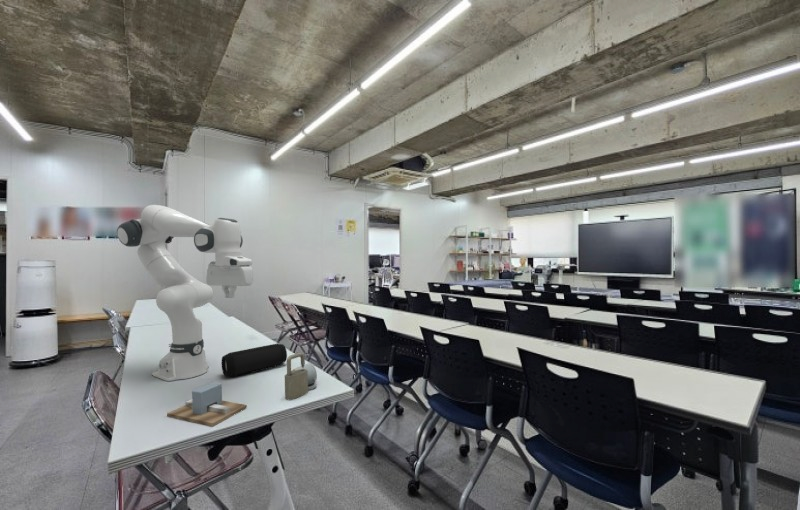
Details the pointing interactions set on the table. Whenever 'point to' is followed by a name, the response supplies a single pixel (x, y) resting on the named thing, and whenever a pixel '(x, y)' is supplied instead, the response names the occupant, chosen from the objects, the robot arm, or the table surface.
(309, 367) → the ceramic mug
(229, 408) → the striped wooden board
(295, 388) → the padlock
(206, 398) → the block
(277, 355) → the portable speaker
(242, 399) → the table surface
